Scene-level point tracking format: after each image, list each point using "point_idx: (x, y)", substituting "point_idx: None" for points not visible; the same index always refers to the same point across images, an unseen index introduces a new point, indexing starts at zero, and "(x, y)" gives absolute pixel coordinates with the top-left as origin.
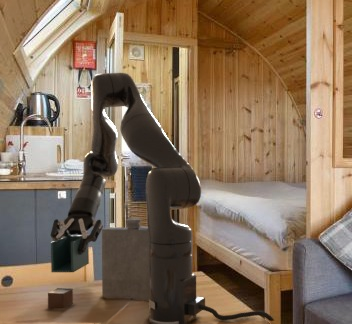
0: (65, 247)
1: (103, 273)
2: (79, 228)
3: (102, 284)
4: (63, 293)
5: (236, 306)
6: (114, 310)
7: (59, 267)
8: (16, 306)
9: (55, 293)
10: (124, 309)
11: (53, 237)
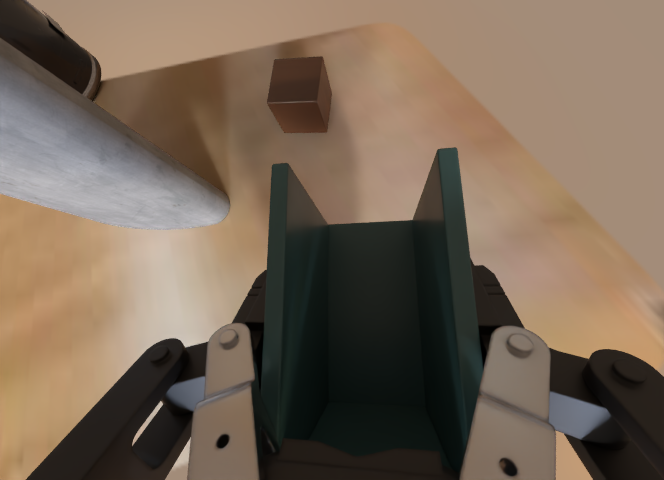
0: (440, 378)
1: (172, 157)
2: (284, 473)
3: (203, 179)
4: (274, 60)
5: None
6: (177, 118)
7: (415, 278)
8: (436, 102)
9: (298, 58)
10: (158, 127)
11: (587, 362)
